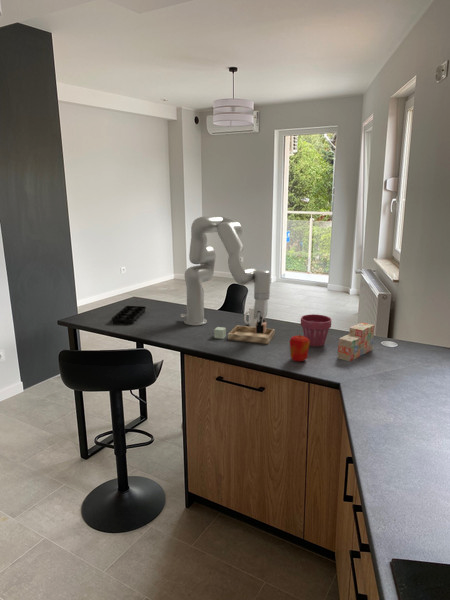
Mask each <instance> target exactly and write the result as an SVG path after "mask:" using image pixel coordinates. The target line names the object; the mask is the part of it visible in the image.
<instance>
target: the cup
mask: <svg viewBox="0 0 450 600" xmlns="http://www.w3.org/2000/svg"><path fill="white" fill-rule="evenodd" d="M254 306H255V305H250V306H249V307H248V310H247V311H246V312H245V313H244V316H243V317H244V318H243V319H244V323H245V324H246V325H248V327H256V323H257V318H256V319H254ZM247 315H248V321H247Z"/></svg>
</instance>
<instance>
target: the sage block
mask: <svg viewBox="0 0 450 600" xmlns="http://www.w3.org/2000/svg"><path fill="white" fill-rule="evenodd" d="M213 332H214V333H213V334H214V339H221V340H222V339H224V338H226V336H227V328H226V327H220V326H217V327H215V328H214V330H213Z"/></svg>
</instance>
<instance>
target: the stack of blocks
mask: <svg viewBox="0 0 450 600" xmlns="http://www.w3.org/2000/svg"><path fill="white" fill-rule="evenodd" d="M348 330H349V332H348V333H349V334H347V335H343V336H342V337H339V339H338V346H337V347H338V348H337V356H336V357H337V359H340V360H343V361H347V362H352V361H354V360H356V359H357V358H359V357H362V356H364V355H365V354H367V353H369V352H371V351H373V346H374V344H373V343H374V337H375V324H370V323H366V322H360V323H357V324H355V325H352V326H349V329H348Z"/></svg>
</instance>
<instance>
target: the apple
mask: <svg viewBox="0 0 450 600" xmlns="http://www.w3.org/2000/svg"><path fill="white" fill-rule="evenodd" d="M309 344H310V341H309V339H308V338H307V337H304V335H301V334H300V333H299V334H298V335H294V336H291V338H290V339H289V347H290V349H289V350H290V358H291V359H292V360H293V361H294V362H304V361H305V360H307V359H308V357H309V356H308V355H309V348H310V346H309Z"/></svg>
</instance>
